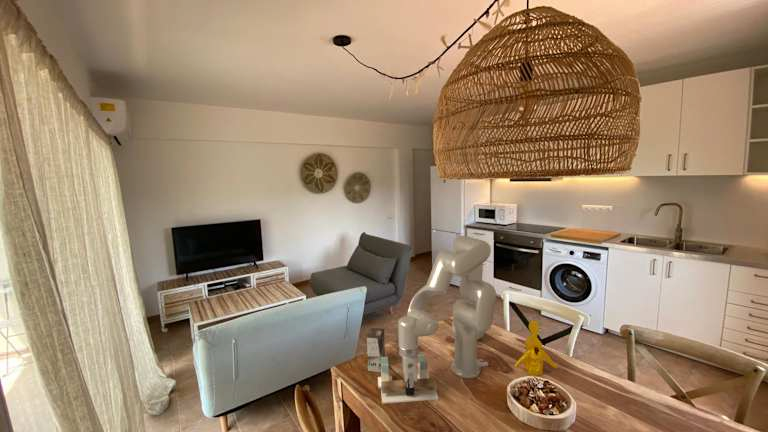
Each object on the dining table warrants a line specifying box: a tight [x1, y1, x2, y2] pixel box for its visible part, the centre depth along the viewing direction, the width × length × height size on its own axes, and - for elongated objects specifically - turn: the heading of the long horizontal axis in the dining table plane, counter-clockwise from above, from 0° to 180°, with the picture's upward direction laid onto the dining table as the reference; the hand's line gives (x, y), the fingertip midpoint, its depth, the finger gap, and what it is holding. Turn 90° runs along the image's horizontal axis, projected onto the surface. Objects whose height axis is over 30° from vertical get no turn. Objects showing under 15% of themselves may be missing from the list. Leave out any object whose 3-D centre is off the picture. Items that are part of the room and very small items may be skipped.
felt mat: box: [380, 388, 440, 404], centre depth 123 cm, size 22×7×1 cm, turn 93°
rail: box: [381, 377, 438, 394], centre depth 123 cm, size 22×3×3 cm, turn 93°
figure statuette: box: [514, 319, 559, 376], centre depth 134 cm, size 18×8×22 cm, turn 84°
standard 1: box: [377, 356, 393, 389], centre depth 130 cm, size 6×6×10 cm
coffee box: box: [366, 327, 386, 373], centre depth 141 cm, size 9×6×16 cm
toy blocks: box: [417, 354, 431, 379], centre depth 131 cm, size 6×6×10 cm
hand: (409, 391), depth 123 cm, fingers closed on rail, 3 cm apart
